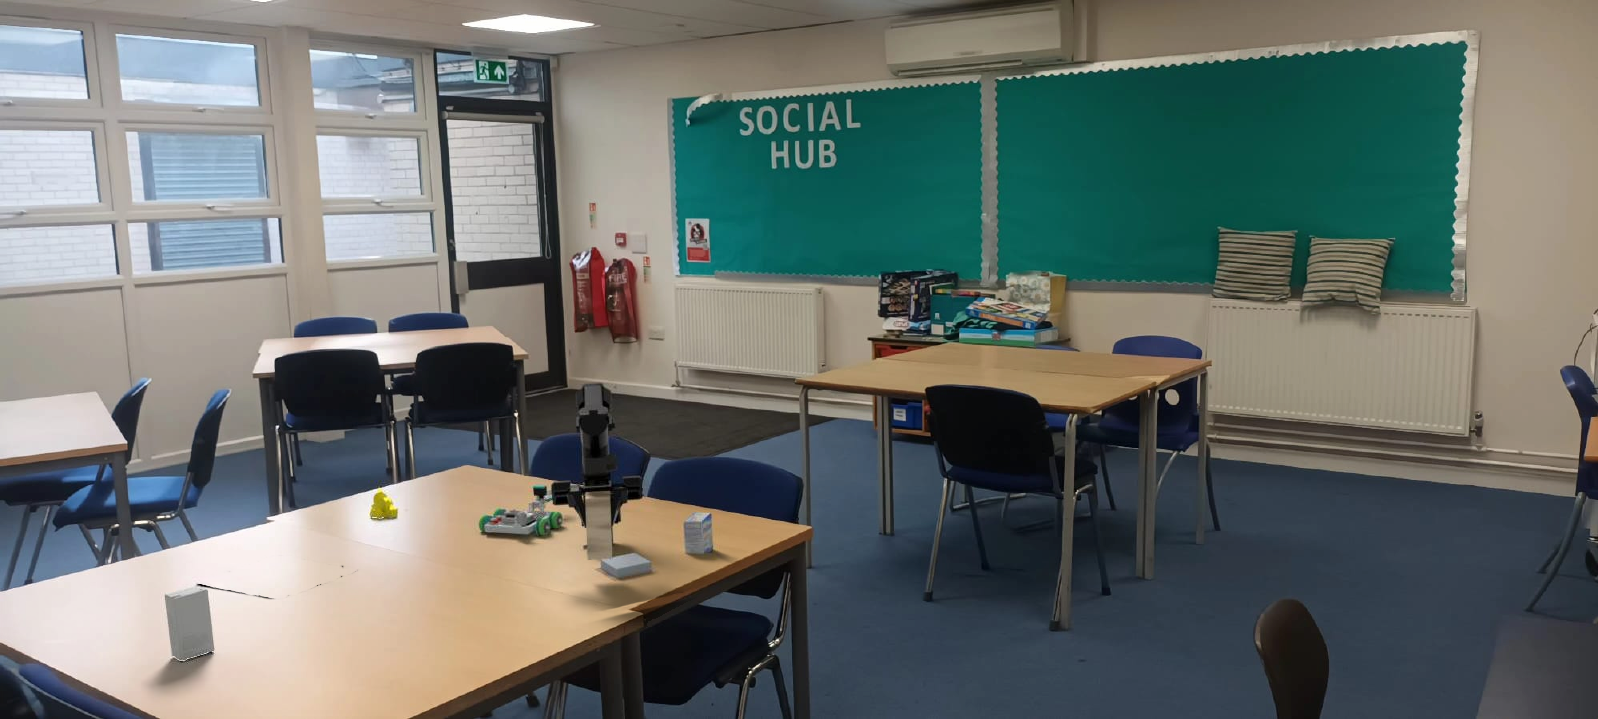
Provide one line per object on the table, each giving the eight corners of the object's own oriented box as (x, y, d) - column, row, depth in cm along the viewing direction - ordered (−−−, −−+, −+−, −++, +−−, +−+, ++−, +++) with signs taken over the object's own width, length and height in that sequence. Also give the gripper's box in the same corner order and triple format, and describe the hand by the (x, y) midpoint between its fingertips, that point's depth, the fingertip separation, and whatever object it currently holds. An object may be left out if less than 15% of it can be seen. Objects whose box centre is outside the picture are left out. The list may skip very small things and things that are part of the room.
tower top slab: (600, 568, 246) (600, 559, 245) (634, 561, 250) (634, 552, 250) (617, 578, 239) (616, 569, 239) (651, 570, 244) (650, 561, 243)
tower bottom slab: (595, 577, 246) (594, 568, 246) (637, 568, 252) (636, 559, 251) (615, 589, 238) (614, 580, 238) (658, 580, 244) (657, 571, 243)
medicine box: (703, 559, 255) (702, 521, 254) (684, 558, 256) (683, 521, 255) (713, 549, 262) (712, 512, 261) (694, 548, 263) (693, 511, 262)
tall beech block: (588, 552, 240) (585, 492, 238) (612, 550, 240) (610, 490, 238) (587, 559, 235) (585, 498, 233) (612, 558, 235) (610, 497, 233)
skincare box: (205, 647, 210) (199, 583, 209) (216, 653, 207) (209, 588, 206) (169, 658, 206) (163, 593, 204) (180, 663, 203) (173, 598, 201)
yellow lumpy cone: (385, 520, 296) (383, 491, 295) (364, 517, 300) (362, 488, 299) (403, 515, 301) (401, 486, 300) (382, 512, 305) (380, 483, 304)
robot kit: (587, 514, 297) (585, 479, 296) (538, 541, 274) (535, 503, 272) (524, 510, 303) (522, 476, 301) (470, 537, 279) (468, 499, 278)
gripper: (548, 444, 236) (550, 510, 227) (639, 438, 239) (644, 503, 230) (552, 472, 245) (553, 536, 236) (640, 466, 248) (644, 529, 239)
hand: (598, 526), depth 235 cm, fingers closed on tall beech block, 5 cm apart
